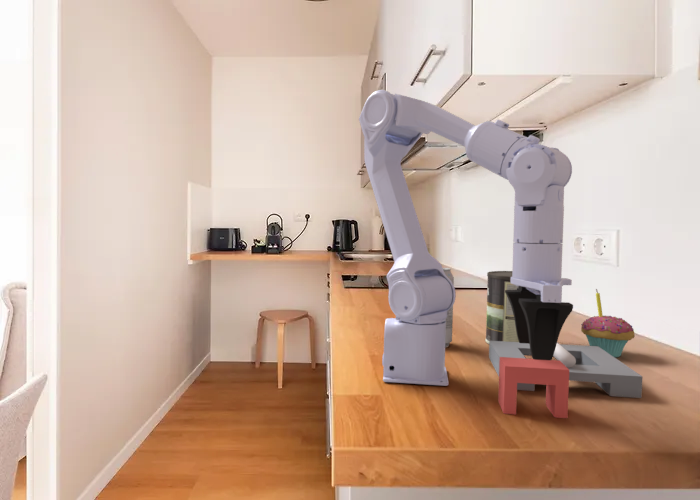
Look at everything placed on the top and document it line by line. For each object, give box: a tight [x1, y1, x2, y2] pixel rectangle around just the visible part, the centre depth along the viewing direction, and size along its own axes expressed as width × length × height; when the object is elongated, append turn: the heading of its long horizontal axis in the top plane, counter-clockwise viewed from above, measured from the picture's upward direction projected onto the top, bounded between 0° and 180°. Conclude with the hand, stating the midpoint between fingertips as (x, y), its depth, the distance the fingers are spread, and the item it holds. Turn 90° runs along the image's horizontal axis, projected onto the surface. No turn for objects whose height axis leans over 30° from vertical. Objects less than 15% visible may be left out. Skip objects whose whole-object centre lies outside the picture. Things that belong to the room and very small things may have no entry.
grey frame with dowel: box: [488, 341, 643, 399], centre depth 72 cm, size 18×16×5 cm
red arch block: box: [497, 357, 570, 419], centre depth 58 cm, size 8×4×6 cm, turn 81°
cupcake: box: [580, 288, 635, 358], centre depth 84 cm, size 9×8×12 cm
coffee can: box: [484, 270, 519, 345], centre depth 91 cm, size 10×10×14 cm
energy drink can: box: [442, 267, 455, 348], centre depth 89 cm, size 6×6×15 cm
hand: (533, 350), depth 58 cm, fingers open, 7 cm apart
